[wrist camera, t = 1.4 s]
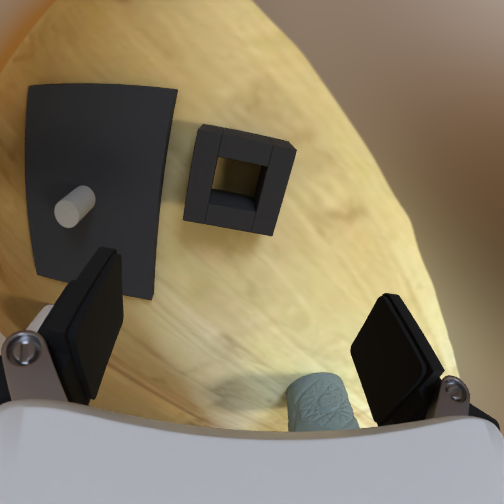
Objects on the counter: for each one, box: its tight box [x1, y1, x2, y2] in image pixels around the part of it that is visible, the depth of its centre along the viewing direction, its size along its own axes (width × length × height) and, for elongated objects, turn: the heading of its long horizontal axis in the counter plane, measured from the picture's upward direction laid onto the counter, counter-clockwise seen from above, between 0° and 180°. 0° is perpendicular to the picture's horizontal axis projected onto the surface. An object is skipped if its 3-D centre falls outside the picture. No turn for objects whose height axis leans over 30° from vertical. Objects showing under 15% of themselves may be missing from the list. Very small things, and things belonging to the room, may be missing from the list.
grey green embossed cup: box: [286, 373, 360, 432], centre depth 35 cm, size 10×10×12 cm
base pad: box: [25, 84, 178, 300], centre depth 22 cm, size 20×14×5 cm
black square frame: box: [183, 124, 297, 236], centre depth 23 cm, size 7×7×4 cm
